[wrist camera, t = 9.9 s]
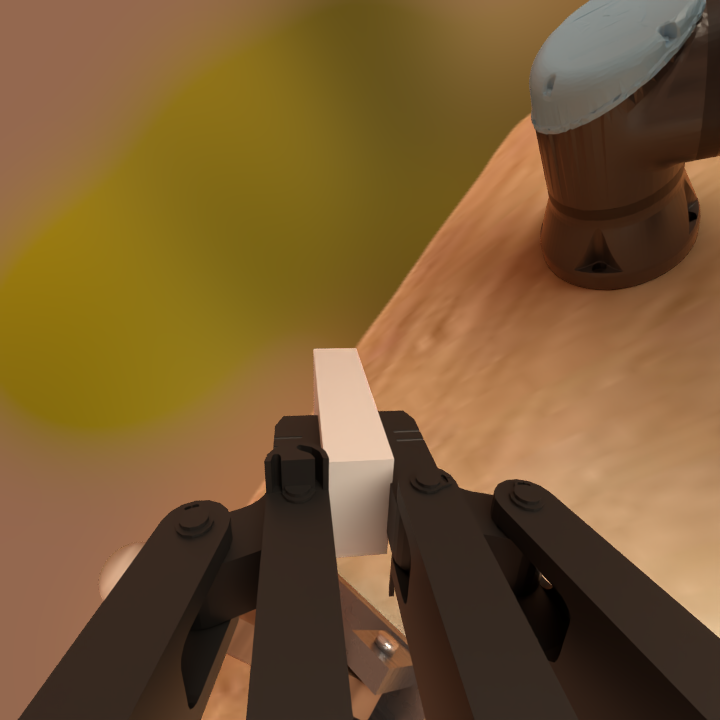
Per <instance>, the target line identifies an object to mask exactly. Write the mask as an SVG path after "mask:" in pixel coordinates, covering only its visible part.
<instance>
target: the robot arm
mask: <svg viewBox="0 0 720 720" xmlns="http://www.w3.org/2000/svg"><path fill="white" fill-rule="evenodd" d="M529 85H530V95H531V103H532V112H531V120H532V124H533V125H534V128H535V129H536V134H537V139H538V144H539V149H540V154H541V159H542V164H543V169H544V175H545V180H546V185H547V189H548V195H549V199H548V203H547V207H546V211H545V216H544V221H543V224H542V227H541V235H540V239H541V246H542V251H543V255H544V258H545V261H546V263H547V265H548V266H549V268H550V269H551V270H552V271H553V272H554V273H555V274H556V275H557V276H558V277H560V278H561V279H563V280H565V281H567V282H569V283H571V284H574V285H577V286H580V287H584V288H590V289H620V288H626V287H631V286H635V285H639V284H642V283H645V282H647V281H650V280H652V279H655V278H657V277H659V276H661V275H662V274H664V273H666V272H667V271H669V270H670V269H672V268H673V267H675V266H676V265H677V264H678V263H679V262H681V261H682V260H683V259H684V258H685V256H686V255H687V254H688V253H689V251H690V250H691V248H692V247H693V245H694V243H695V241H696V238H697V234H698V229H699V222H700V205H699V201H698V198H697V196H696V194H695V191H694V189H693V187H692V184H691V182H690V180H689V177H688V175H687V173H686V170H685V168H684V166H685V162H690V161H694V160H700V159H705V158H710V157H716V156H720V0H590V1H588V2H587V3H586V4H584V5H583V6H581V7H580V8H579V9H577V10H576V11H575V12H573V13H572V14H571V15H570V16H569V17H568V18H566V19H565V20H564V22H563V23H562V24H561V25H560V26H559V27H558V28H557V29H556V30H555V31H554V32H553V33H552V34H551V35H550V36H549V37H548V39H547V40H546V41H545V42H544V44H543V45H542V47H541V49H540V50H539V52H538V54H537V56H536V58H535V60H534V62H533V65H532V68H531V73H530V79H529ZM313 350H314V415H308V416H307V415H306V416H284V417H282V419H281V420H280V421H279V422H278V424H277V425H276V426H275V435H274V449H273V450H272V451H271V452H270V453H269V454H267V457H266V459H265V461H264V463H265V479H266V493H265V495H264V496H263V497H262V498H260V499H259V500H258V501H256V502H255V503H253V504H251V505H249V506H246V507H244V508H241V509H238V510H235V511H231V512H228V509H227V508H226V507H224V506H223V505H222V504H220V503H217V502H213V501H210V500H206V501H194V502H191V503H187V504H184V505H181V506H180V507H178V508H176V509H174V510H173V511H171V512H170V513H169V514H168V515H167V516H166V517H165V518H164V519H163V520H162V521H161V522H160V524H159V525H158V527H157V528H156V529H155V531H154V532H153V533H152V535H151V536H150V538H149V539H148V540H147V542H146V543H145V544H144V546H143V547H142V549H141V550H140V551H139V553H138V554H137V556H136V557H135V558H134V560H133V561H132V562H131V564H130V565H129V567H128V568H127V569H126V571H125V572H124V574H123V575H122V576H121V578H120V579H119V580H118V582H117V583H116V585H115V586H114V587H113V589H112V590H111V592H110V593H109V594H108V596H107V597H106V598H105V600H104V601H103V603H102V604H101V606H100V607H99V608H98V610H97V611H96V612H95V614H94V615H93V616H92V618H91V619H90V621H89V622H88V623H87V625H86V626H85V628H84V629H83V630H82V632H81V633H80V634H79V636H78V637H77V639H76V640H75V642H74V643H73V644H72V646H71V647H70V648H69V650H68V651H67V653H66V654H65V655H64V657H63V658H62V659H61V661H60V662H59V664H58V665H57V666H56V668H55V669H54V670H53V672H52V673H51V675H50V676H49V677H48V679H47V680H46V682H45V683H44V684H43V686H42V687H41V689H40V690H39V691H38V693H37V694H36V695H35V697H34V698H33V700H32V701H31V702H30V704H29V705H28V706H27V708H26V709H25V711H24V712H23V713H22V715H21V716H20V718H19V719H18V720H201V718H202V715H203V712H204V710H205V707H206V705H207V702H208V699H209V697H210V694H211V692H212V689H213V686H214V684H215V681H216V679H217V676H218V673H219V671H220V668H221V666H222V663H223V660H224V658H225V655H226V653H227V650H228V647H229V645H230V642H231V640H232V637H233V634H234V632H235V629H236V627H237V624H238V621H239V616H240V615H242V614H245V613H247V612H250V611H252V610H255V609H256V616H255V627H254V638H253V649H252V660H251V671H250V682H249V694H248V705H247V716H246V720H353V712H352V702H351V693H350V683H349V674H348V665H347V655H346V646H345V637H344V627H343V618H342V609H341V599H340V590H339V581H338V571H337V562H336V558H339V557H351V556H363V555H376V554H387V544H388V539H389V543H390V547H391V551H392V558H391V570H390V582H389V597H390V596H394V587H395V592H396V596H397V600H398V604H399V609H400V613H401V617H402V622H403V626H404V630H405V634H406V639H407V643H408V647H409V651H410V656H411V660H412V664H413V669H414V673H415V677H416V681H417V686H418V690H419V694H420V698H421V703H422V707H423V711H424V715H425V720H720V638H719V637H718V636H716V635H715V634H714V633H713V632H712V631H711V630H709V629H708V628H707V627H706V626H705V625H704V624H702V623H701V622H700V621H699V620H698V619H697V618H695V617H694V616H693V615H692V614H691V613H690V612H688V611H687V610H686V609H685V608H684V607H683V606H682V605H680V604H679V603H678V602H677V601H676V600H675V599H673V598H672V597H671V596H670V595H669V594H668V593H666V592H665V591H664V590H663V589H662V588H661V587H659V586H658V585H657V584H656V583H655V582H654V581H652V580H651V579H650V578H649V577H648V576H647V575H646V574H644V573H643V572H642V571H641V570H640V569H639V568H637V567H636V566H635V565H634V564H633V563H632V562H630V561H629V560H628V559H627V558H626V557H625V556H623V555H622V554H621V553H620V552H619V551H618V550H616V549H615V548H614V547H613V546H612V545H611V544H610V543H608V542H607V541H606V540H605V539H604V538H603V537H601V536H600V535H599V534H598V533H597V532H596V531H594V530H593V529H592V528H591V527H590V526H589V525H587V524H586V523H585V522H584V521H583V520H582V519H580V518H579V517H578V516H577V515H576V514H575V513H574V512H572V511H571V510H570V509H569V508H568V507H567V506H565V505H564V504H563V503H562V502H561V501H560V500H558V499H557V498H556V497H555V496H554V495H553V494H551V493H550V492H549V491H547V490H546V489H544V488H543V487H541V486H539V485H537V484H534V483H532V482H529V481H524V480H517V479H515V480H506V481H504V482H502V483H499V484H498V485H497V487H496V489H495V490H494V495H490V494H484V493H478V492H472V491H468V490H464V489H461V488H459V487H458V485H457V483H456V481H455V480H454V479H453V478H452V476H451V475H450V474H448V473H446V472H445V471H443V470H442V469H439V468H437V466H436V464H435V462H434V460H433V458H432V456H431V453H430V451H429V449H428V447H427V445H426V443H425V441H424V440H423V437H422V435H421V433H420V432H419V428H418V426H417V424H416V422H415V420H414V419H413V418H412V417H411V416H409V415H408V414H407V413H405V412H404V411H380V412H378V410H377V408H376V405H375V402H374V399H373V396H372V393H371V390H370V387H369V384H368V381H367V378H366V376H365V373H364V370H363V367H362V364H361V361H360V358H359V355H358V352H357V349H356V348H333V349H332V348H331V349H313ZM542 575H543V576H544V577H545V578H546V579H547V580H548V581H549V582H550V584H549V583H548V582H547V581H546V580H545V579H544V578H543V577H542Z"/></svg>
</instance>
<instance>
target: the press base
mask: <svg viewBox="0 0 720 720" xmlns="http://www.w3.org/2000/svg"><path fill="white" fill-rule="evenodd" d="M338 581H339V590H340V599H341V609H342V618H343V627H344V637H345V646H346V655H347V665H348V666H349V667H350V668H351V669H352V670H353V672H354V673H355V674H356V675H357V676H358V677H359V678H360V679H361V680H362V682H363V683H364V684H365V685H366V686H367V687H368V688H369V689H370V690H371V692H372V693H373V694H374V695H379V694H382V695H381V697H380V698H379V700H378V702H377V704H376V706H375V708H374V709H373V711H372V713H371V715H370V717H369V719H368V720H425V715H424V711H423V707H422V703H421V698H420V694H419V690H418V686H417V681H416V677H415V673H414V669H413V664H412V660H411V656H410V651H409V647H408V643H407V639H406V637H405V636H404V635H403V634H402V633H401V632H400V631H399V630H398V629H397V628H396V627H394V626H393V625H392V624H391V623H390V622H389V621H388V620H387V619H386V618H385V617H384V616H383V615H382V614H381V613H380V612H378V611H377V610H376V609H375V608H374V607H373V606H372V605H371V604H370V603H369V602H368V601H367V600H366V599H365V598H363V597H362V596H361V595H360V594H359V593H358V592H357V591H356V590H355V589H354V588H353V587H352V586H351V585H350V584H348V583H347V582H346V581H345V580H344V579H343V578H342V577H341V576H340V575H339V574H338ZM353 720H359V719H357V718H355V717H353Z"/></svg>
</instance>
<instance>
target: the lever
mask: <svg viewBox="0 0 720 720" xmlns="http://www.w3.org/2000/svg"><path fill="white" fill-rule="evenodd" d="M145 543H146V542H135V543H131V544H128V545H125V546H123V547H121V548H120V549H119V550H117V551H116V552H114V553H113V554H112V555H111V556H110V557H109V559H108V560H107V561H106V562H105V564H104V566H103V568H102V570H101V573H100V576H99V583H98V585H99V593H100V596H101V598H102V600H103V601H104V600H105V598H106V597H107V596H108V594H109V593H110V592H111V590H112V589H113V587H114V586H115V585H116V583H117V582H118V580H119V579H120V578H121V576H122V575H123V574H124V572H125V571H126V569H127V568H128V567H129V565H130V564H131V562H132V561H133V560H134V558H135V557H136V556H137V554H138V553H139V551H140V550H141V549H142V547H143V546H144V544H145ZM255 616H256V610H252V611H250V612H247V613H245V614H242V615H240V616H239V621H238V624H237V627H236V629H235V632H234V634H233V637H232V640H231V642H230V645H229V647H228V650H227V653H226V654H228V655H230V656H232V657H234V658H236V659H238V660H240V661H242V662H245V663H247V664H249V665H251V660H252V649H253V638H254V627H255ZM348 674H349V683H350V693H351V702H352V712H353V717H355V718H357V719H359V720H368V719H369V717H370V715H371V713H372V711H373V709H374V708H375V706H376V704H377V702H378V700H379V698H380V697H381V695H382V694H379V695H374V694H373V693H372V692H371V690H370V689H369V688H368V687H367V686H366V685H365V684H364V683H363V682H362V680H361V679H360V678H359V677H358V676H357V675H356V674H355V673H354V672H353V670H352V669H351V668H350V667H349V666H348Z"/></svg>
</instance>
